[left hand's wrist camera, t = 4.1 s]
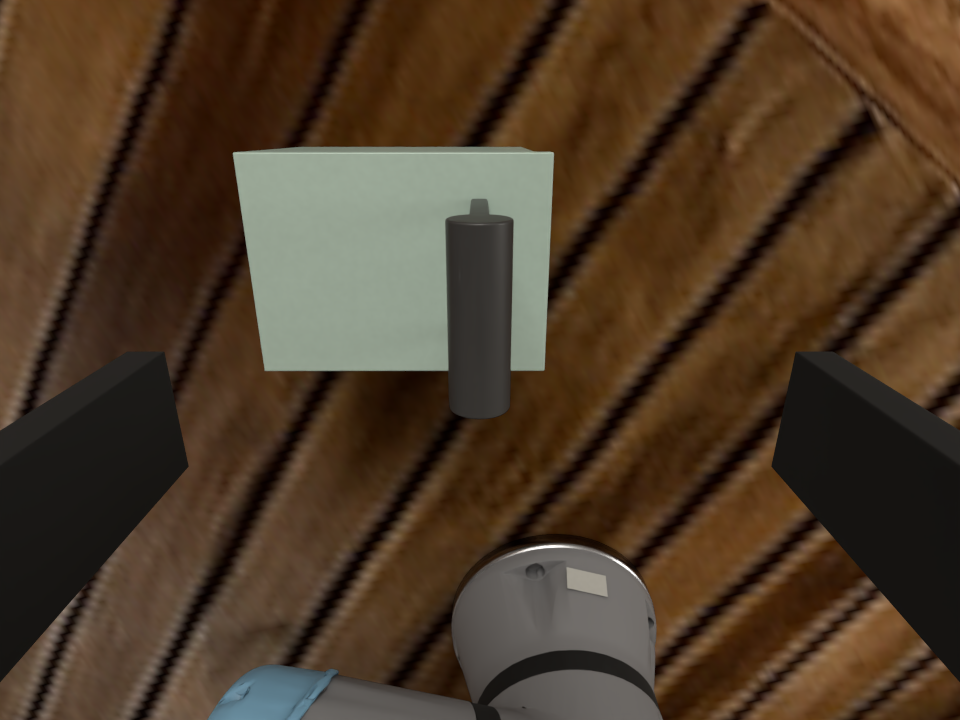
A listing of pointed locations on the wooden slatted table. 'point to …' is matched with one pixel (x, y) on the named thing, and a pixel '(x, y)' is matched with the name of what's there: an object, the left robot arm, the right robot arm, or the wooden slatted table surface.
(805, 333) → the wooden slatted table surface
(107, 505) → the left robot arm
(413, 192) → the lid
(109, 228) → the wooden slatted table surface
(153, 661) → the wooden slatted table surface
